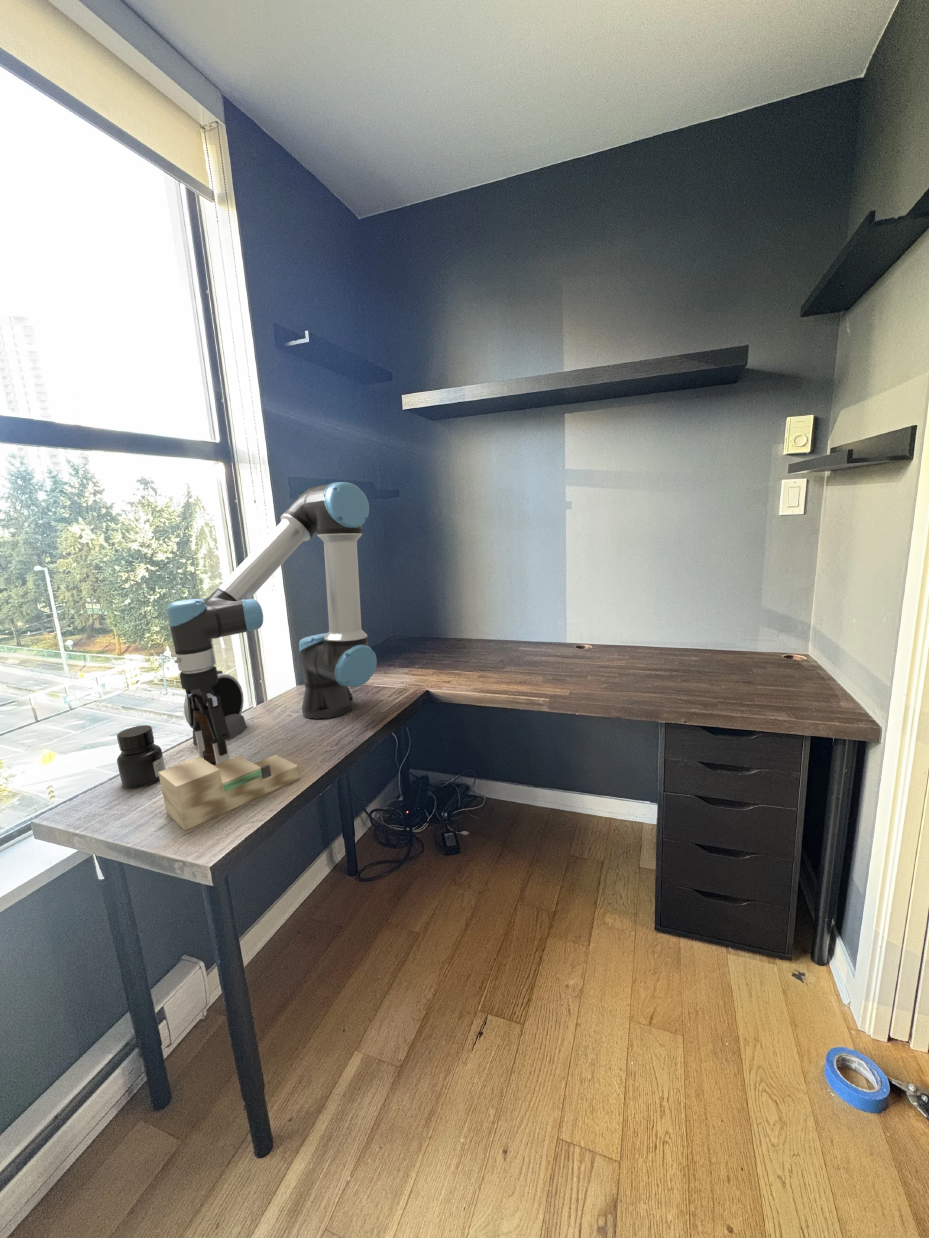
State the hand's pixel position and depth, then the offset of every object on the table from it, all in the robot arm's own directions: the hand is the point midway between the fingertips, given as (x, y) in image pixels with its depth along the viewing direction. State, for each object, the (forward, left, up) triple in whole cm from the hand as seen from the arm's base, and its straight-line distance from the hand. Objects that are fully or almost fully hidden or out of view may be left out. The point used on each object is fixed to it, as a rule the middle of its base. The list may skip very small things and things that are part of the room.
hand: (214, 761), depth 123 cm
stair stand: (+2, +15, -3) cm, 15 cm away
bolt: (0, 0, -3) cm, 3 cm away
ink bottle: (+12, -11, -3) cm, 17 cm away
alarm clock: (-10, -22, -3) cm, 24 cm away
